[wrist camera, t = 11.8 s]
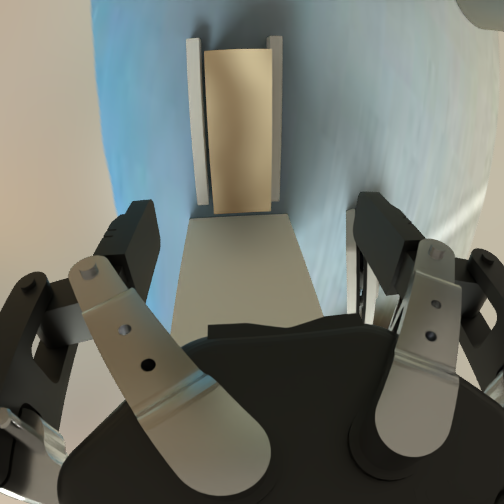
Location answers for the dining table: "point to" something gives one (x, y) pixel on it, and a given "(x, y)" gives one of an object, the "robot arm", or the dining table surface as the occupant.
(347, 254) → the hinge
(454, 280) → the robot arm
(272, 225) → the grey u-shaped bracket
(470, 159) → the dining table surface
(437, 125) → the dining table surface
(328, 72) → the dining table surface
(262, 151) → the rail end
